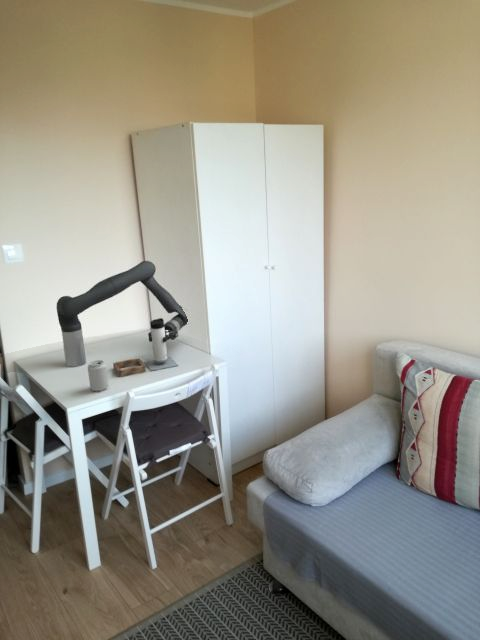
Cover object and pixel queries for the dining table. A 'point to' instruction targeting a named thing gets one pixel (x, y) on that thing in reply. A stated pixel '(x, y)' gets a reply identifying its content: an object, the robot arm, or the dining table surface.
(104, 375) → the can
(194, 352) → the dining table surface
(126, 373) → the frame
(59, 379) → the dining table surface
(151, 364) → the rubber mat
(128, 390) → the dining table surface
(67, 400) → the dining table surface
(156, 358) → the travel mug
